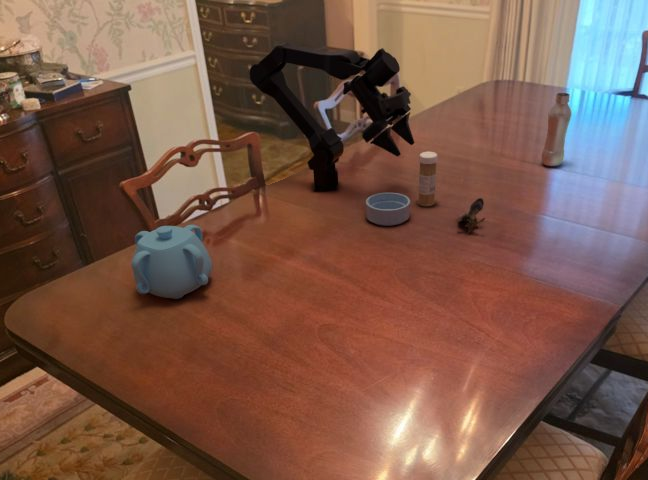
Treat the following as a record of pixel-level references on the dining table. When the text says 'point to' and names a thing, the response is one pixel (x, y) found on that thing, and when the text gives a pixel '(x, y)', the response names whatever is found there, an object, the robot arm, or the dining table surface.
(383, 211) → the bowl
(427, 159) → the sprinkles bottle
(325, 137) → the robot arm
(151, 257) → the decorative pot
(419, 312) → the dining table surface
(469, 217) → the eagle figurine
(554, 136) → the plastic bottle
